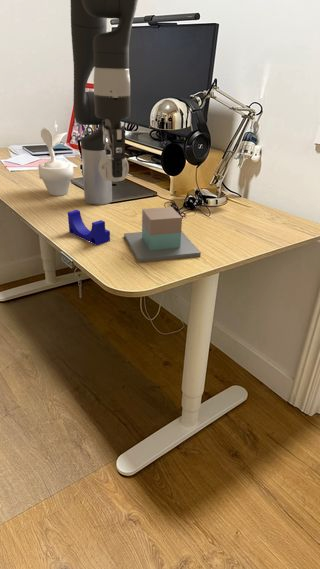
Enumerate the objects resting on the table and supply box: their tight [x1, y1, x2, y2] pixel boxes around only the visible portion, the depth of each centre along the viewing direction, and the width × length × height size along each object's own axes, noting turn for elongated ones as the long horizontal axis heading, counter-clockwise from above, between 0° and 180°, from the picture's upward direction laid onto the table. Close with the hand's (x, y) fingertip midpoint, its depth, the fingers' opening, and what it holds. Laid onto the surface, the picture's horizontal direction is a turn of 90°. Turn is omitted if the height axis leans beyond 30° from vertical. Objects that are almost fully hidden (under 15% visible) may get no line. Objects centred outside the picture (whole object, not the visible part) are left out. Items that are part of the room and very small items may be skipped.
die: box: [99, 154, 130, 183], centre depth 90 cm, size 5×5×5 cm
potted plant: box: [37, 119, 74, 197], centre depth 134 cm, size 13×12×25 cm
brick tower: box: [123, 206, 202, 263], centre depth 102 cm, size 16×16×9 cm
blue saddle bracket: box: [67, 209, 111, 246], centre depth 106 cm, size 12×4×6 cm, turn 47°
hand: (114, 172), depth 91 cm, fingers closed on die, 7 cm apart
